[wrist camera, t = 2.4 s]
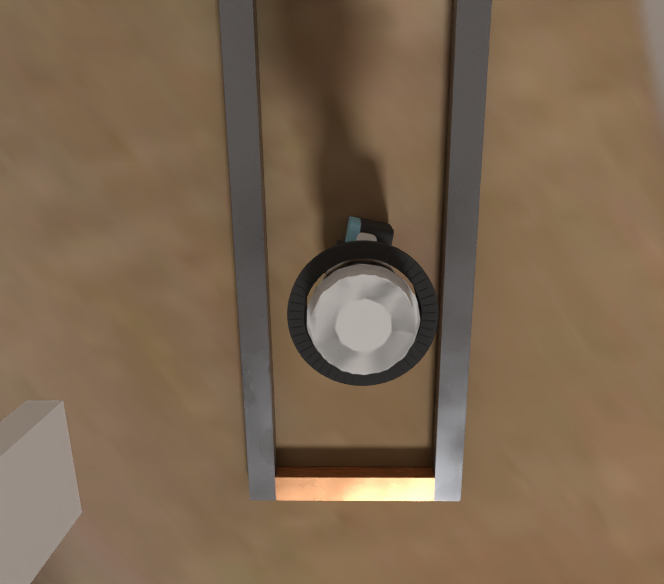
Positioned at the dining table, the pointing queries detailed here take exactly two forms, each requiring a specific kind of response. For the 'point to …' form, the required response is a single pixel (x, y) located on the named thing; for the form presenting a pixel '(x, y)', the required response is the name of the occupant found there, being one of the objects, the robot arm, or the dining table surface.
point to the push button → (363, 309)
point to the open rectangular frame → (454, 283)
